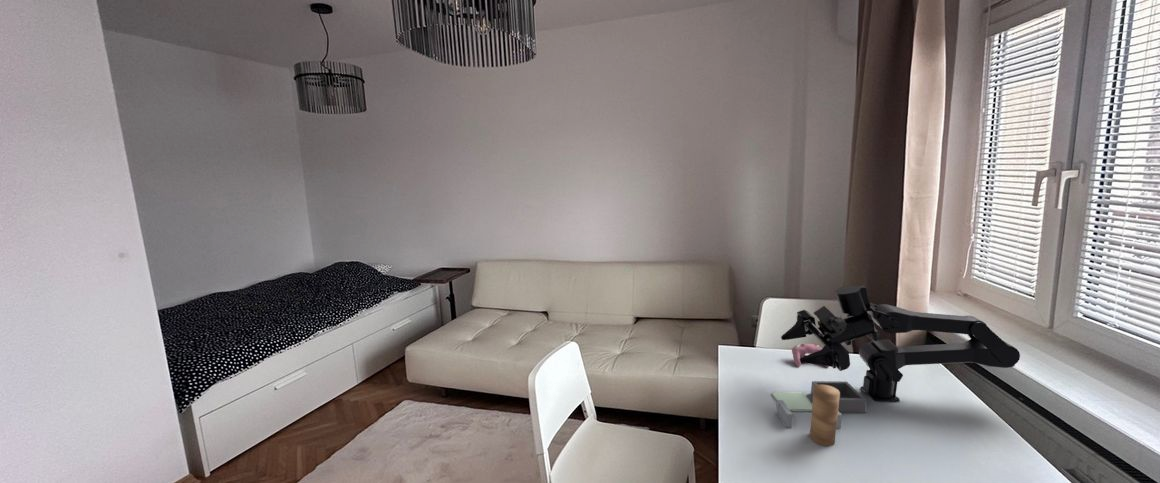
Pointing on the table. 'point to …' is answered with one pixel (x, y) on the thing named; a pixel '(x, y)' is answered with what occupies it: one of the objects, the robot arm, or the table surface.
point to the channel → (787, 415)
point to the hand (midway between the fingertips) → (790, 349)
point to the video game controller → (804, 351)
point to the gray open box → (846, 396)
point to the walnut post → (824, 415)
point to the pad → (794, 400)
